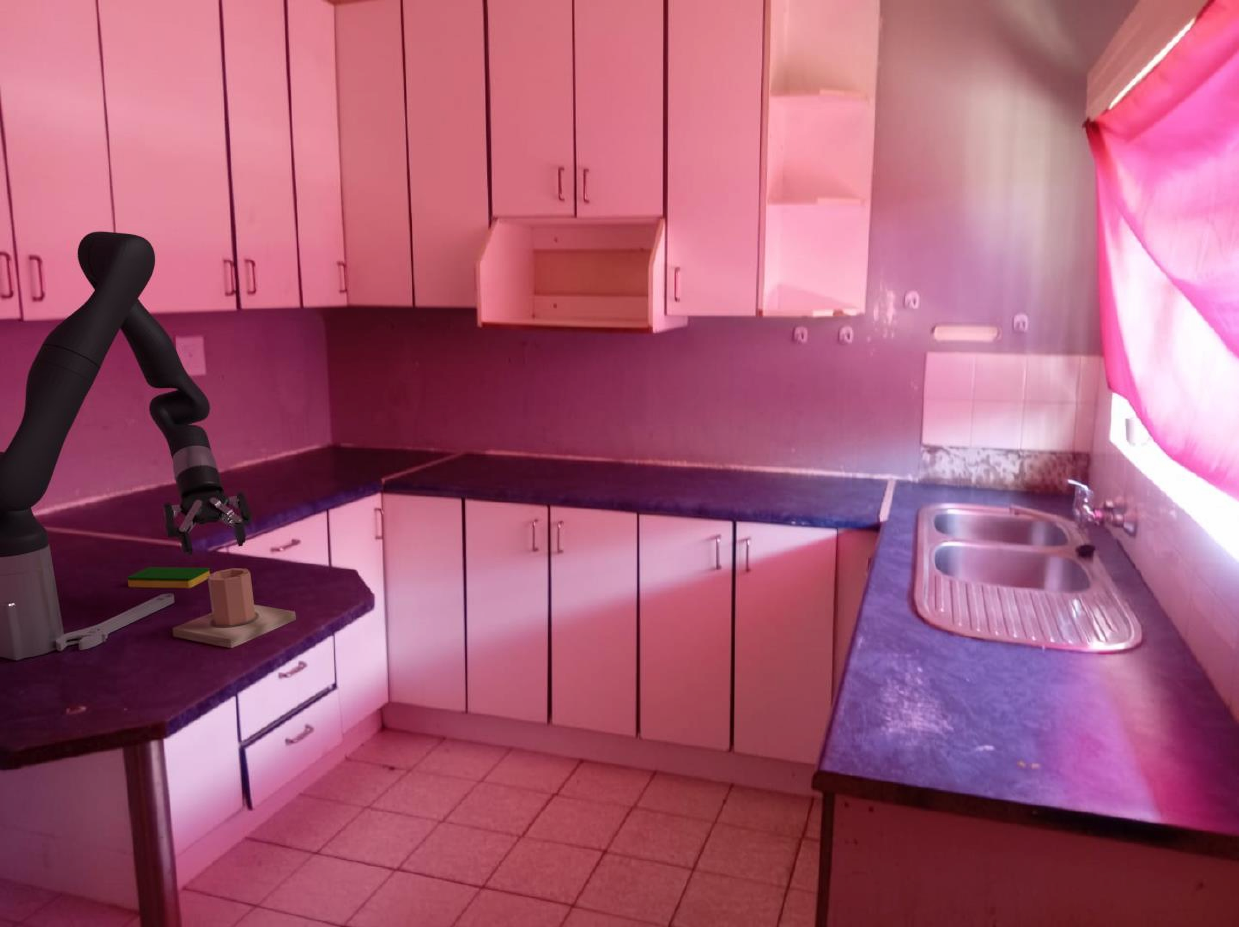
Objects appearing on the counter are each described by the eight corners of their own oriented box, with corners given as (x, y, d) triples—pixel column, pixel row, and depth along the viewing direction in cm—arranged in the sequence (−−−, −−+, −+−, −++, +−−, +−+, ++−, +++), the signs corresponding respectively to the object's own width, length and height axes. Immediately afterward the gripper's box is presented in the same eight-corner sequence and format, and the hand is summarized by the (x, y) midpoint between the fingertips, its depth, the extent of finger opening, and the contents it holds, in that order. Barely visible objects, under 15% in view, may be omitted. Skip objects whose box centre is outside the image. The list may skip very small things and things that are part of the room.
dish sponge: (150, 577, 199) (148, 566, 198) (211, 578, 197) (210, 567, 196) (127, 588, 192) (126, 577, 192) (190, 590, 190) (189, 578, 189)
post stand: (231, 648, 157) (224, 595, 155) (173, 636, 163) (166, 585, 161) (295, 619, 169) (290, 570, 167) (239, 609, 175) (233, 562, 174)
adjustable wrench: (165, 600, 182) (164, 591, 182) (192, 604, 180) (192, 595, 180) (49, 649, 159) (48, 639, 159) (79, 654, 157) (78, 644, 157)
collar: (218, 628, 161) (212, 582, 160) (211, 617, 167) (205, 573, 165) (257, 619, 165) (252, 574, 163) (249, 609, 170) (244, 566, 168)
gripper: (155, 469, 173) (173, 544, 166) (238, 458, 180) (259, 530, 173) (155, 493, 178) (172, 566, 171) (236, 481, 186) (256, 551, 178)
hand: (216, 548), depth 172 cm, fingers open, 8 cm apart
